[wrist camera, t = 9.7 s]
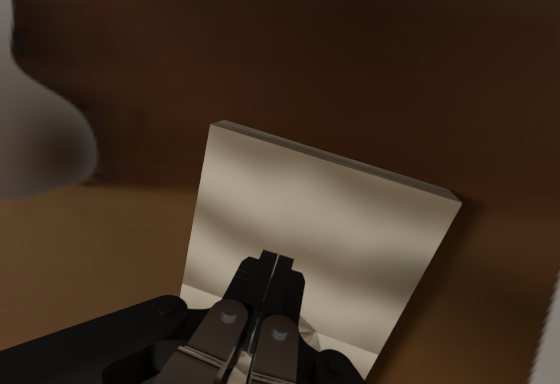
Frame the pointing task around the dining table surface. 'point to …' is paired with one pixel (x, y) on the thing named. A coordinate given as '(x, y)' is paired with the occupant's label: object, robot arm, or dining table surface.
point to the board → (314, 235)
